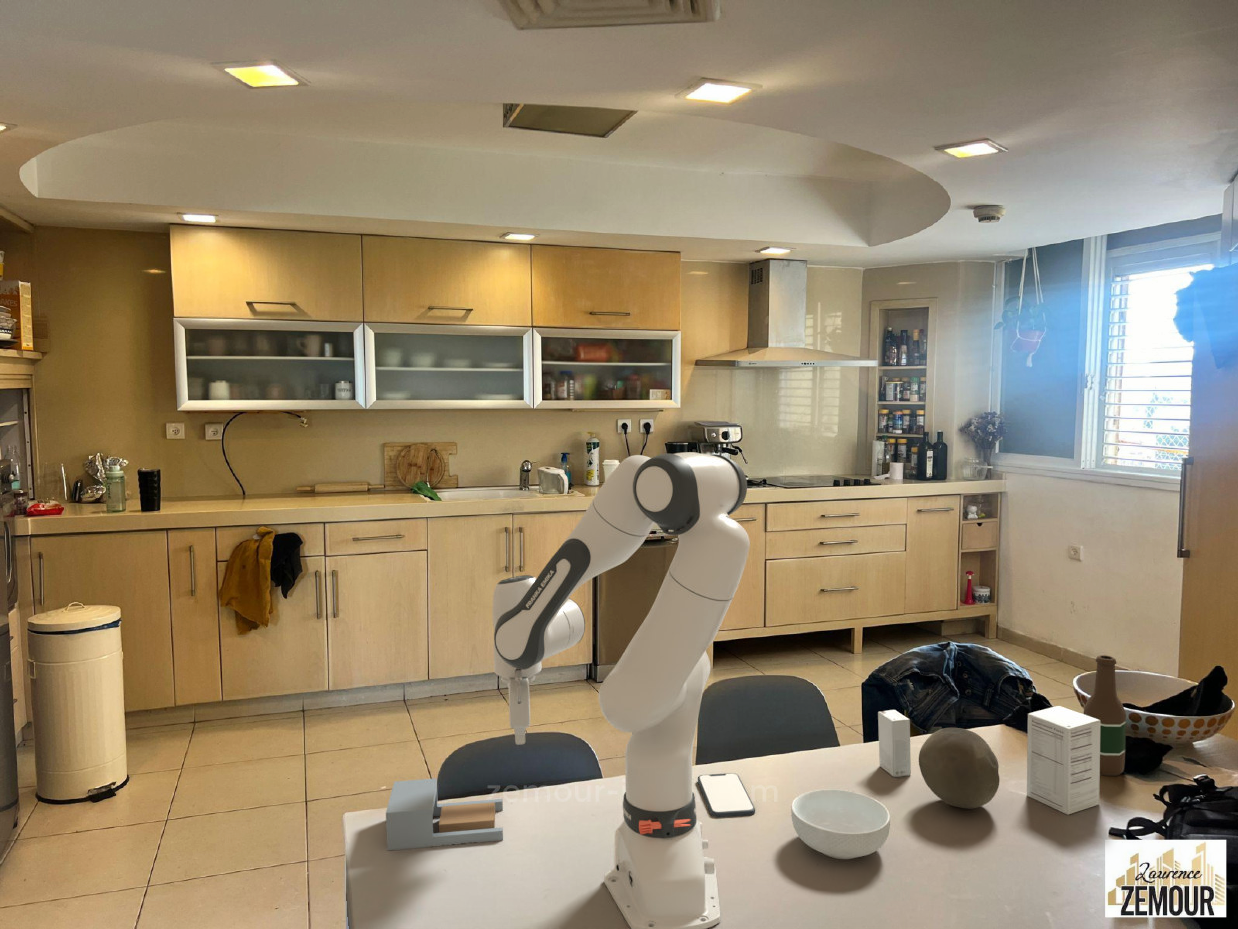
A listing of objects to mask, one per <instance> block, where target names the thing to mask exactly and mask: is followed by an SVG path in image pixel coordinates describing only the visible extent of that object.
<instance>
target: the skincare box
mask: <svg viewBox="0 0 1238 929" xmlns="http://www.w3.org/2000/svg"><path fill="white" fill-rule="evenodd" d="M877 720H878V726H877V727H878V748H879V749H878V756H879V762H878V763H879V767H881V768H882V769H883V770H885V771H886V773H888V774H889V775H890V776H892V777H893V778H900V777H908V776H911V774H912V768H911V765H912V764H911V761H912V760H911V758H912V757H911V724H910V723H911V719H910V718H908V717H907V716H905V715H903V714H902V713H900V712H899V711H897V710H896V709H889V710H883V711H878V712H877Z"/></svg>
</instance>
